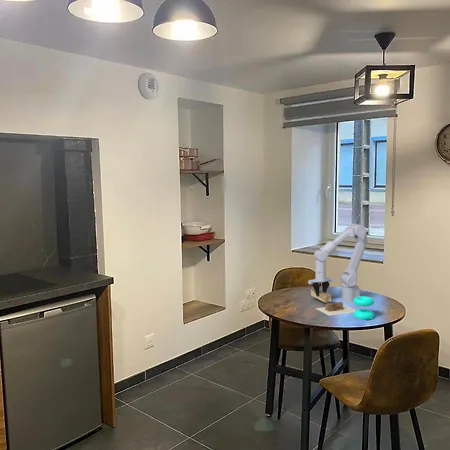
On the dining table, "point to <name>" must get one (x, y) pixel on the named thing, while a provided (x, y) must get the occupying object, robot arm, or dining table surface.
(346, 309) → the board
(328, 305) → the block
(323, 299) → the bar
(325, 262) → the robot arm
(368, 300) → the donuts
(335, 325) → the dining table surface
